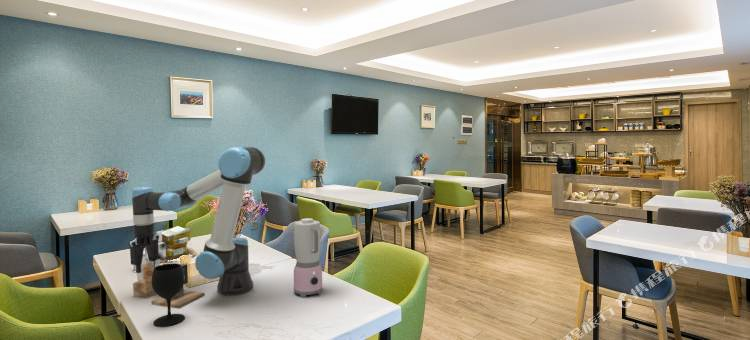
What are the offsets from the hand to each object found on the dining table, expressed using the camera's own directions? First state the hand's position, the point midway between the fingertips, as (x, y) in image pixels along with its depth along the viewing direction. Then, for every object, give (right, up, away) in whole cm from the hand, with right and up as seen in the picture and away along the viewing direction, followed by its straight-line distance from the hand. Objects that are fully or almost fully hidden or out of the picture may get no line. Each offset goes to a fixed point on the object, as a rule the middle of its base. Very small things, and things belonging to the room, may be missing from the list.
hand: (145, 277), depth 169 cm
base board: (+16, -8, -5) cm, 19 cm away
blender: (+70, -7, +2) cm, 70 cm away
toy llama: (-18, -6, +33) cm, 38 cm away
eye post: (+16, -7, -5) cm, 18 cm away
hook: (+7, -2, -2) cm, 8 cm away
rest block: (-1, -8, +1) cm, 8 cm away
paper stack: (-19, -4, +60) cm, 63 cm away
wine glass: (+23, -9, -24) cm, 35 cm away
